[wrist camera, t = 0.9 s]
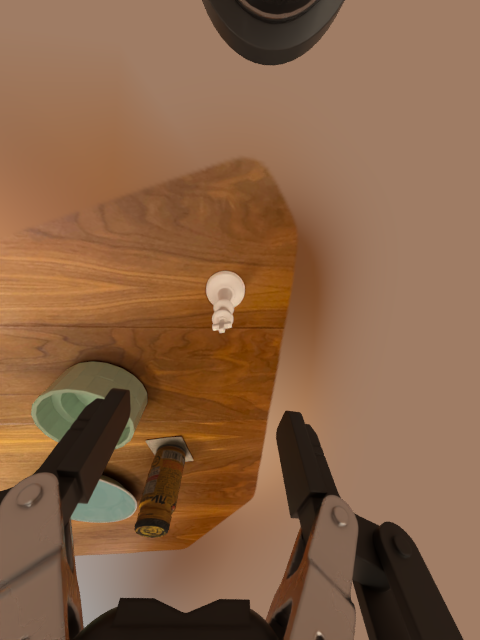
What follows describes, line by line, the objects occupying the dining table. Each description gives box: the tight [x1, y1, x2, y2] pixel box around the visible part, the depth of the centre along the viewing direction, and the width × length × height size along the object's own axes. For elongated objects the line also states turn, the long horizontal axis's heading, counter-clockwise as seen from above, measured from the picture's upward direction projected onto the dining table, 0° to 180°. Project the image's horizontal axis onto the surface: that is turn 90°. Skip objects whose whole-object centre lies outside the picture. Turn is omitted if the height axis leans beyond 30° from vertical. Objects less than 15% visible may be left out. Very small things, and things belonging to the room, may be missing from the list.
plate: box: [71, 475, 137, 523], centre depth 48 cm, size 22×22×3 cm
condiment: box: [135, 437, 194, 538], centre depth 38 cm, size 7×8×12 cm
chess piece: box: [206, 271, 245, 333], centre depth 22 cm, size 5×5×10 cm
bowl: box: [31, 361, 147, 449], centre depth 32 cm, size 13×13×6 cm
